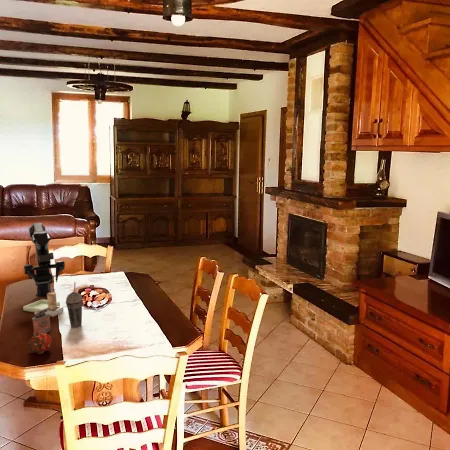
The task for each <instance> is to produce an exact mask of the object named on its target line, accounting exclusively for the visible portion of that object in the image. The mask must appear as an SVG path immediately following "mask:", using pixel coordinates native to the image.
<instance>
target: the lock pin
mask: <svg viewBox="0 0 450 450" xmlns="http://www.w3.org/2000/svg"><path fill="white" fill-rule="evenodd" d="M46 297H47V298H46V300H47V301H48V310H50V311H54V310H56V309H57V302H58V301H57V292H55V291H53V292H52V291H51V292H50V293H47V296H46Z"/></svg>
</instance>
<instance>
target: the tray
mask: <svg viewBox="0 0 450 450" xmlns="http://www.w3.org/2000/svg"><path fill="white" fill-rule="evenodd" d="M57 306H59V307H61V303H60V301H57ZM22 308H23V309H22V310H23V311H24V312H25V311H26V312H29V313H30V312H31V313H36V312H37V311H38V310H40V311H41V310H43V309H45V308H48V301H47V299H43V298H42V299H39V300H36V301H33V302H31V303H29V304H26V305H24V306H23V307H22Z"/></svg>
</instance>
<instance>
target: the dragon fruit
mask: <svg viewBox="0 0 450 450" xmlns="http://www.w3.org/2000/svg"><path fill="white" fill-rule="evenodd" d="M52 339H53V338H52V337H51V336H50V335H49V334H47V333H44V332H39V333H38V334H35V335H34V334H33V335H32V336H31V338H30V339H29V340H28V343H27V346H29V348H28V350H29V351H31V352H34V353H36V354H37V355H38V354H39V355H43V354H44V353H45V352H47V351H48V352H49V351H50V350H51V349H52V346H51V345H52V343H53V340H52Z"/></svg>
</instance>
